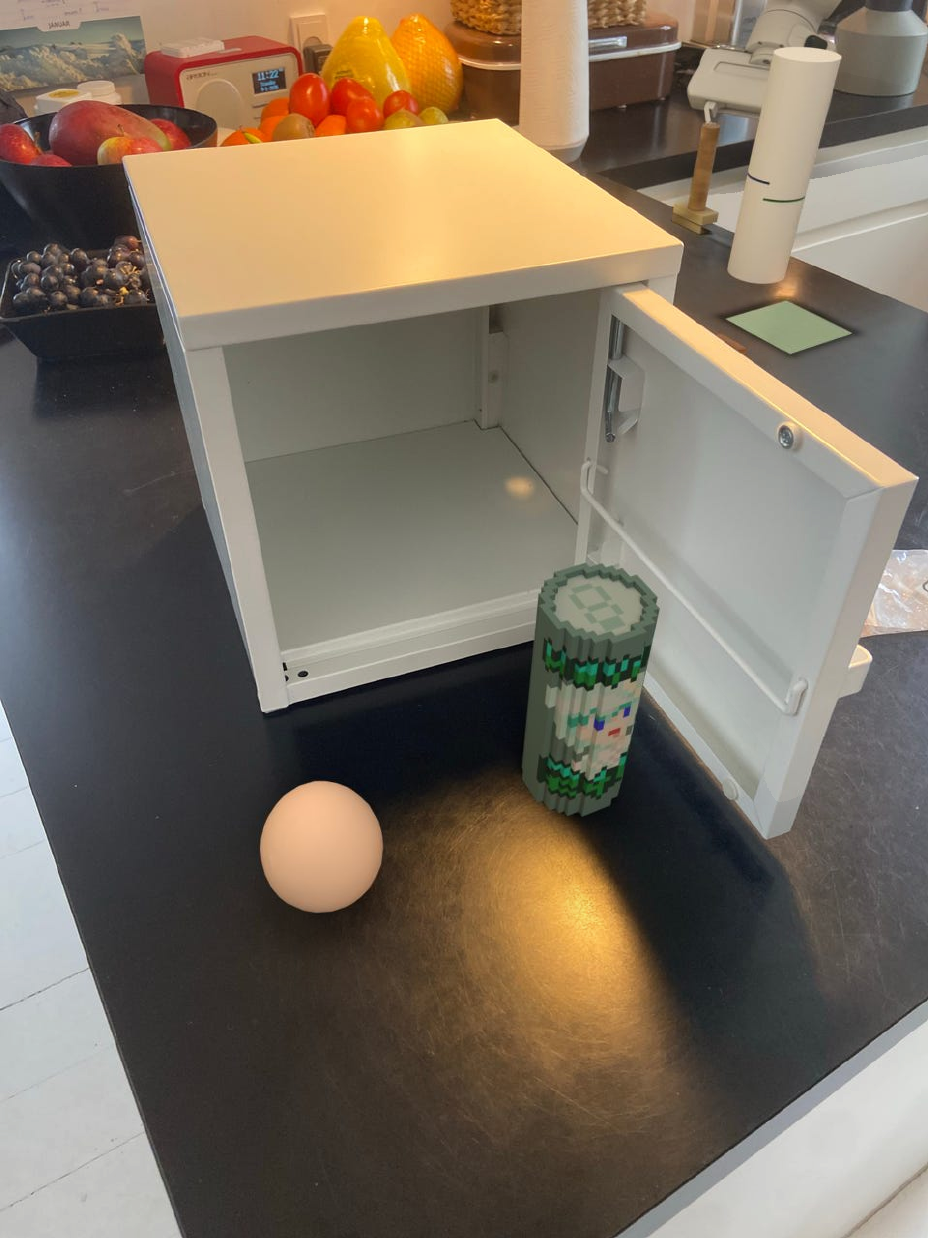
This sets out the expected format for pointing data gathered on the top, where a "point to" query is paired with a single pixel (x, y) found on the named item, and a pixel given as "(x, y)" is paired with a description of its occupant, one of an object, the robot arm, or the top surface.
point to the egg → (321, 847)
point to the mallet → (700, 185)
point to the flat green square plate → (788, 326)
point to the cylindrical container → (782, 161)
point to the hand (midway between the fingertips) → (737, 142)
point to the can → (585, 685)
